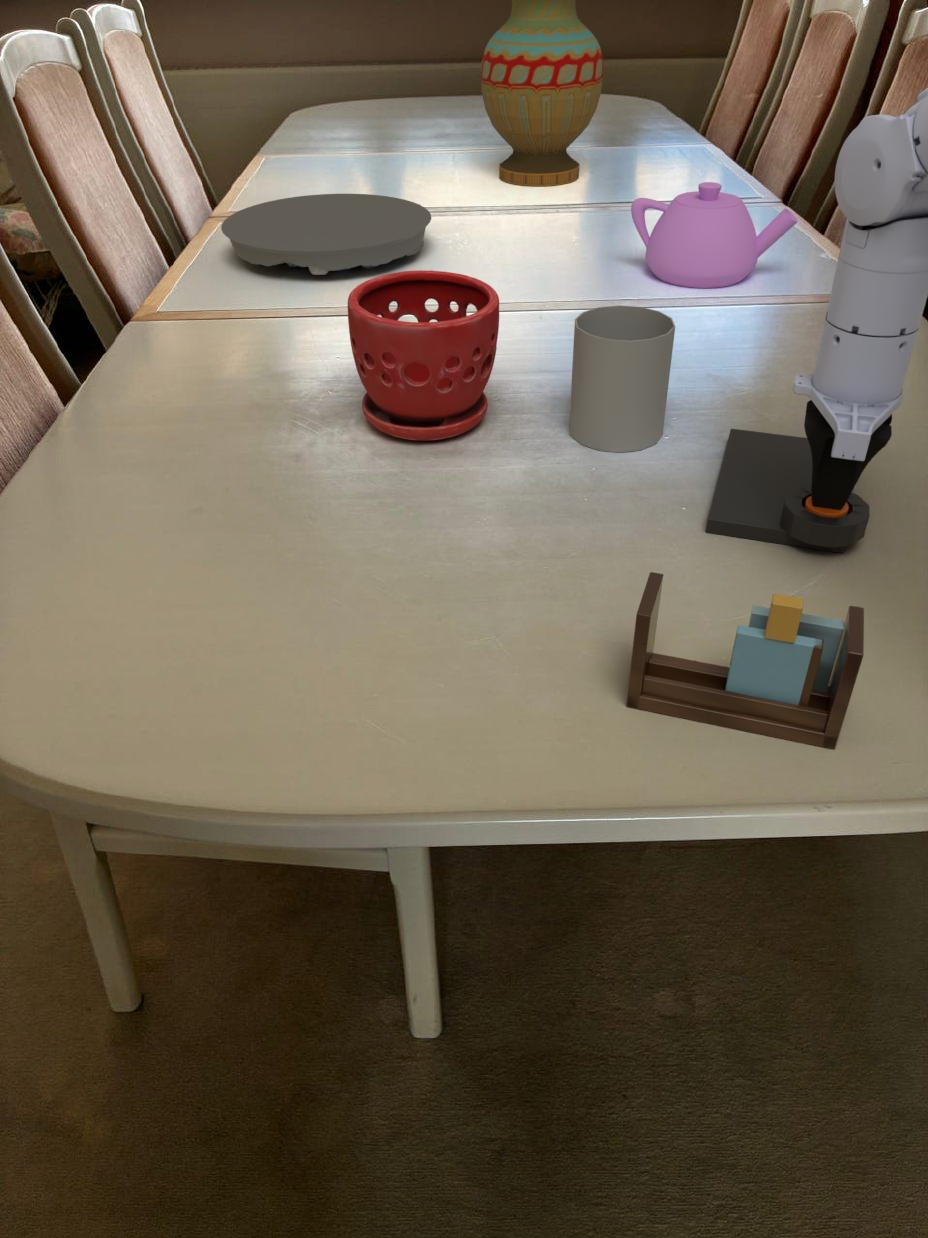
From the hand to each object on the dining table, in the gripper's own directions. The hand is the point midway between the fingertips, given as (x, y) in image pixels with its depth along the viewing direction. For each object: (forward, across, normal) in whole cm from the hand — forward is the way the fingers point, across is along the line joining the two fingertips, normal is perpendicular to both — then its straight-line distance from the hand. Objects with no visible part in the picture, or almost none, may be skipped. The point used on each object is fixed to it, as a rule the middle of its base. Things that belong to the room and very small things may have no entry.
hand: (827, 503), depth 70 cm
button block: (+3, -6, -3) cm, 8 cm away
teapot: (+3, -60, -16) cm, 63 cm away
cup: (+3, -14, -18) cm, 23 cm away
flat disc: (+3, -56, -66) cm, 86 cm away
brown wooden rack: (+3, +20, -4) cm, 21 cm away
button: (+2, 0, 0) cm, 2 cm away
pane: (+2, +21, -2) cm, 22 cm away
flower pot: (+3, -10, -35) cm, 37 cm away
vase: (+3, -106, -50) cm, 117 cm away
